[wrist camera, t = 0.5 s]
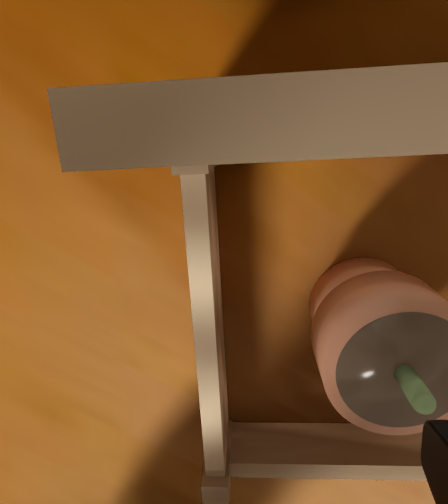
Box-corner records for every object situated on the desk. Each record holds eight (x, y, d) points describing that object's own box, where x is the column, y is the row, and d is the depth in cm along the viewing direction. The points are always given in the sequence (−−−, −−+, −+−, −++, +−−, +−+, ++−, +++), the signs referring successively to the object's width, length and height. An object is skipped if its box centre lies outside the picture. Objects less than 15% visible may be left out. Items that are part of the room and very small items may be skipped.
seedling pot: (411, 352, 21) (508, 482, 13) (300, 353, 21) (331, 479, 13) (424, 248, 19) (546, 327, 11) (302, 251, 19) (338, 330, 12)
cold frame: (497, 440, 22) (559, 515, 18) (211, 437, 23) (202, 507, 19) (569, 115, 16) (686, 109, 12) (188, 136, 18) (168, 136, 13)
